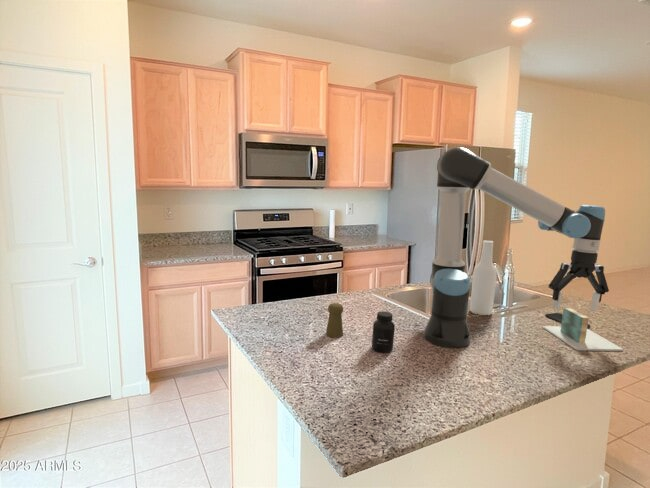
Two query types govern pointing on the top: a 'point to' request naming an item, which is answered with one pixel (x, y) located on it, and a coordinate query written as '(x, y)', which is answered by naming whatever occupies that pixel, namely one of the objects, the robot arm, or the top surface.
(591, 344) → the mat
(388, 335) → the supplement bottle
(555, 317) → the phone
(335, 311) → the cork
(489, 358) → the top surface
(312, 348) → the top surface
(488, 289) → the alcohol
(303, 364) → the top surface
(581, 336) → the tile
